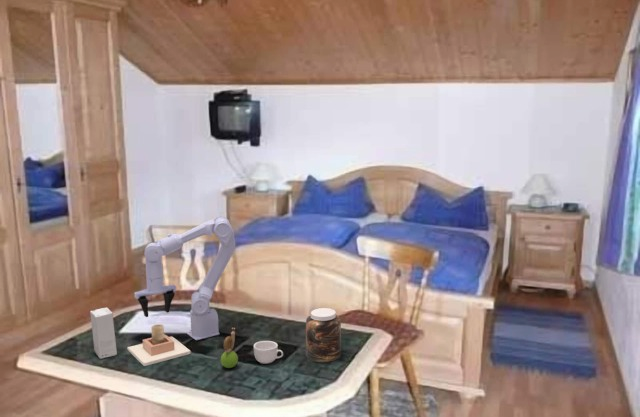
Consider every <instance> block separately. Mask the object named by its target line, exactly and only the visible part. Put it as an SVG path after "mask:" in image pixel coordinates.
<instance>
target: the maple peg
mask: <svg viewBox="0 0 640 417" xmlns="http://www.w3.org/2000/svg"><path fill="white" fill-rule="evenodd" d="M150 330H151V338H152V345H157V344H161V343H165V341H164V334H165V327H164V324H154V325H152V326H151V329H150Z"/></svg>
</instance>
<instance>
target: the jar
mask: <svg viewBox="0 0 640 417" xmlns="http://www.w3.org/2000/svg"><path fill="white" fill-rule="evenodd" d="M341 321H342V320H341V318H340V316H339V315H337V312H336V310H334V309H333V308H329V307H328V308H327V307H321V308H320V307H319V308H316V309H312V310H311V311H310V315H309V316H307V317H306V320H305V356H306V358H307V360H308V361H309V360H310V361H311V362H315V363H331V362H334V361H336V359H337V360H339V359H340V358H341V356H342V322H341ZM330 361H331V362H330Z"/></svg>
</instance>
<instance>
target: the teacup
mask: <svg viewBox="0 0 640 417" xmlns="http://www.w3.org/2000/svg"><path fill="white" fill-rule="evenodd" d="M278 346H279V345H278V343H277V342H275V341H271V340H260V341H257V342H255V343H254V344H253V354H254V357H255V360H256V361H257V362H259V363H260V364H262V365H263V364H271V363H273V362H274V361H275V360H276V359H280V358H282V357H283V356H284V352H283V350H281V349H278ZM278 353H281V355H279V356H278Z"/></svg>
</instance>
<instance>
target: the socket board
mask: <svg viewBox="0 0 640 417" xmlns="http://www.w3.org/2000/svg"><path fill="white" fill-rule="evenodd" d="M164 341H165V343H161V344H157V345H152V337H148V338H144V339H142V343H139V344H136V345H132V346H127V351H128V353H130V354H131V356H133V357H134V358H135V359H136V360H137V361H138V362H139V363H140V364H141V365H142V366H143V367H146V366H151V365H155V364H157V363H158V364H159V363H161V362H165V361H168V360H169V361H170V360H171V359H172V360H173V359H177V358H179V357H184V356H187V355H191V353H192V351H191V350H190V349H189V348H187V347H186V346H185V345H184V344H182V343H181V342H180V341H179V340H178V339H176V338H175V337H173V336H172V335H171V336H168V335H167V334H165V333H164Z"/></svg>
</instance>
